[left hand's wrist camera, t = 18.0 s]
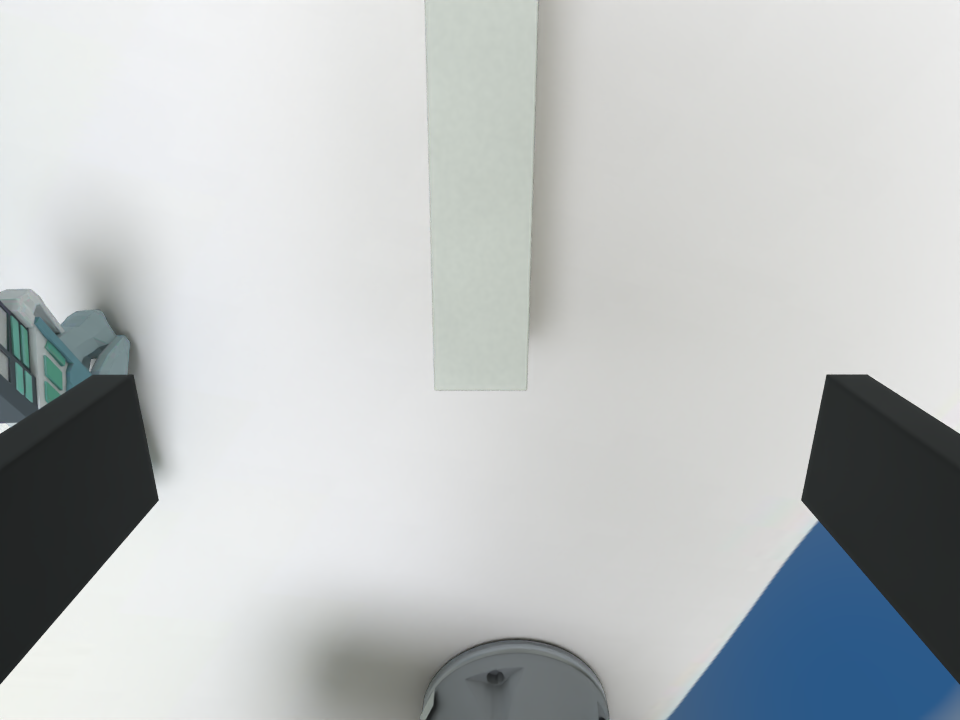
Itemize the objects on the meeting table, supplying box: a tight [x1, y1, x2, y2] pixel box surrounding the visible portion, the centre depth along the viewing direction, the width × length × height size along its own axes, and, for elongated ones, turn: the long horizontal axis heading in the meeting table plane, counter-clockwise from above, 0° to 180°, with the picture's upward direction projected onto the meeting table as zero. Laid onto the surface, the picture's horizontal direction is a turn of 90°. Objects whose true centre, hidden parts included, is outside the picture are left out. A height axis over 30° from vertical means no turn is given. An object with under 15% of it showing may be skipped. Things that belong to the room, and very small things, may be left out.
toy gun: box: [0, 289, 130, 427], centre depth 37 cm, size 4×19×10 cm
